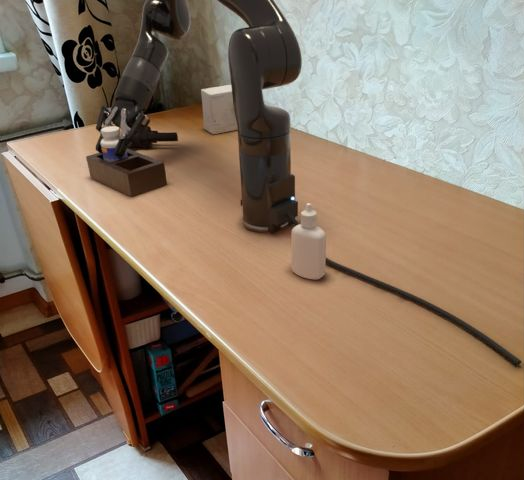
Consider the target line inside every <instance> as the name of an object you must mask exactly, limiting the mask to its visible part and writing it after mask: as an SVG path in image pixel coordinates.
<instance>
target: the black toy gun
mask: <svg viewBox="0 0 524 480" xmlns="http://www.w3.org/2000/svg"><path fill="white" fill-rule="evenodd" d="M137 132H138V130H136V132H135V134H134V135H135V136H136V134H137ZM158 142H179V136H178V132H174V131H173V132H171V131H170V132H159V131H158V130H152V127H150V126H149V125H148V126H147V128H146V129H145V131H144V133H143V134H142V136H141V138H140V139H139V141H138V142H137V143H135V142H132V143H131V144H129V145H128V149H130V148H152V145H153V144H157V143H158Z"/></svg>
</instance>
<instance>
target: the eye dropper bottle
mask: <svg viewBox="0 0 524 480" xmlns="http://www.w3.org/2000/svg"><path fill="white" fill-rule="evenodd" d="M317 216H318V212H317V211H316V210H314V209H313V206H312V203H311V202H310V203H309V202H308V203H306V204H305V209H304V210H302V211H301V212H300V223H299V225H297V226H295V225H294V227H292V229H291V243H290V245H291V246H290V247H291V252H290V253H291V271H292V272H293V273H294V274H295V275H297V276H299V277H301V278H304V279H309V280H315V281H317V280H320V279H321V278H323V277H324V276H325V275H326V264H327V263H326V258H327V235H326V232H325V230H323V229H322V228H321V227H320V226H318V225H317V224H318V222H317V221H318V217H317Z"/></svg>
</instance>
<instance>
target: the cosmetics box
mask: <svg viewBox="0 0 524 480" xmlns="http://www.w3.org/2000/svg"><path fill="white" fill-rule="evenodd" d="M200 95H201V105H202V106H201V107H202V120H203V129H204V130H205V131H207V132H208V133H210V134H212V135H217V134H222V133H228V132H232V131H233V132H234V131H238V129H237V121H236V117H235V113H234V107H233V96H232V87H231V84H226V85H219V86H213V87H207V88H202V89H201V88H200Z"/></svg>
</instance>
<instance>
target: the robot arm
mask: <svg viewBox="0 0 524 480" xmlns="http://www.w3.org/2000/svg"><path fill="white" fill-rule="evenodd" d="M217 2H218V3H220V4H221V5H222V6H224V7H226V8H227V9H229V10H230V12H231V11H232V12H233V13H234V14H235V15H237V16H238V17H239V18H240V19H242V21H243V22H244V23H246V25H247V27H240V28H238V29H235V30H234V31H233V33H232V34H231V35H230V38H229V42H228V49H227V55H228V56H227V57H228V71H229V78H230V85H231V87H232V96H233V107H234V113H235V117H236V121H237V129H238V130H237V141H238V142H237V143H238V144H237V145H238V155H239V156H238V159H239V160H238V161H239V171H240V172H239V173H240V190H241V199H240V207H242V224H243V227H245V228H246V229H247V230H250V231H253V232H257V233H269V234H273V235H274V234H276V233H278V232H280V231H283V230H285V229H287V228H289V227H291V226H293V225H294V227H295V226H297V225H299V224H300V223H299V221H298V220H297V219H296V218H297V217H298V216H299V201H297V200H296V176H295V174H293V173H292V165H291V164H292V161H291V159H292V158H291V157H292V156H291V151H292V150H291V149H292V148H291V147H292V146H291V144H292V142H291V141H292V140H291V138H292V137H291V116H290V113H289V112H288V111H287V110H285V109H284V108H281V107H278V106H273V105H270V104H269V105H268V104H266V103H265V100H264V94H263V90H267V89H273V88H279V87H284V86H287V85H290V84H292V83H294V82H295V81H296V80H298V78H299V77H300V74H301V71H302V66H303V58H302V51H301V48H300V43H299V40H298V38H297V35H296V34H295V32H294V30H293V28H292V26H291V25H290V23H289V21H288V20H287V18H286V17H285V15H284V14H283V12H282V11H281V9H280V8H279V6H278V4H277V3H276V2H275V0H217ZM190 28H191V12H190V7H189V4H188V0H145V2H144V3H143V6H142V14H141V24H140V29H139V35H138V39H137V43H136V45H135V47H134V50H133V52H132V54H131V56H130V59H129V61H128V62H127V64H126V66H125V68H124V70H123V72H122V75H121V77H120V79H119V82H118V84H117V87H116V89H115V90H114V98H115V99H114V100H115V101H114V102H113V105H112V106H111V107H107V106H106V105H102V106H101V107H100V111H99V115H98V118H97V122H96V126H95V130H96V131H98V133H99V134H100V135H99V138H98V139H97V142H96V144H95V151H97V153H101V154H103V153H102V148H101V140H102V139H103V138H104V137H103V136H102V132H101V129H103V128H105V127H110V126H116V127H119V129H120V136H121V138H122V139H119V141H118V143H117V146H116V148H115V150H114V155H115V156H116V157H118V158H122V157H123V156H124V155H125V152H126V150H127V148H128V145H129V144H131V143H132V142H135V143H137V142H138V141H139V139H140V138H141V136H142V134H143V133H144V131H145V129H146V128H147V126H149V124H151V123H150V122H151V119H150V117H148V116H147V115H146V114H145V113H146V112H147V110H148V107H149V105H150V103H151V101H152V98H153V96H154V93H155V91H156V90H157V89H156V88H157V86H158V83H159V80H160V76H161V74H162V71H163V69H164V67H165V64H166V62H167V59H168V56H169V49H168V47H167V45H165V43H163V41H162V40H160V39H159V38H158V37H156V36H155V33H158V34H160V35H163V36H166V37H168V38H170V39H173V40H176V41H177V40H183V38H185V37H186V36H187V35H188V33H189V30H190ZM136 130H138V132H137V134H136V136H135V135H134V134H135V132H136ZM128 149H129V148H128ZM325 264H326V265H329V266H331V267H333V268H335V269H337V270H340V271H342V272H345V273H347V274H350V275H352V276H354V277H357V278H359V279H361V280H364V281H367V282H368V283H371V284H374V285H376V286H378V287H381V288H383V289H385V290H388V291H390V292H393V293H395V294H397V295H400V296H402V297H403V298H406V299H409V300H411V301H413V302H415V303H417V304H419V305H422V306H423V307H426V308H428V309H430V310H431V311H434V312H435V313H437V314H439V315H441V316H442V317H444V318H446V319H448V320H450V321H451V322H453V323H455V324H457V325H458V326H459V327H462V328H463V329H465V330H466V331H468V332H470V333H471V334H473V335H474V336H476V337H477V338H479V339H480V340H482V341H483V342H485V343H486V344H488V345H489V346H490V347H492V348H493V349H494V350H496V351H497V352H498V353H500V354H501V355H503V356H504V357H505V358H507V360H509V361H510V362H512V363H513V364H514V365H516V366H519V365H521V364H522V360H521V359H519V358H518V357H516V356H515V355H514V354H512V353H511V352H510V351H508V350H507V349H506V348H504V347H503V346H501V345H500V344H499V343H497V342H496V341H495V340H493V339H492V338H490V337H489V336H488V335H486V334H485V333H483V332H481V331H480V330H478V329H477V328H475V327H474V326H472V325H470V324H469V323H467V322H466V321H464V320H463V319H461V318H459V317H457V316H456V315H454V314H453V313H450V312H448V311H446V310H444V309H443V308H441V307H439V306H437V305H435V304H433V303H431V302H429V301H427V300H425V299H423V298H420V297H419V296H417V295H414V294H413V293H412V294H411V293H409V292H407V291H405V290H403V289H400V288H398V287H396V286H394V285H391V284H389V283H386V282H383V281H381V280H379V279H377V278H374V277H371V276H368V275H366V274H364V273H362V272H359V271H357V270H355V269H352V268H350V267H347V266H344V265H342V264H340V263H338V262H335V261H333V260H331V259H329V258H328V257H326V263H325Z"/></svg>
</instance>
